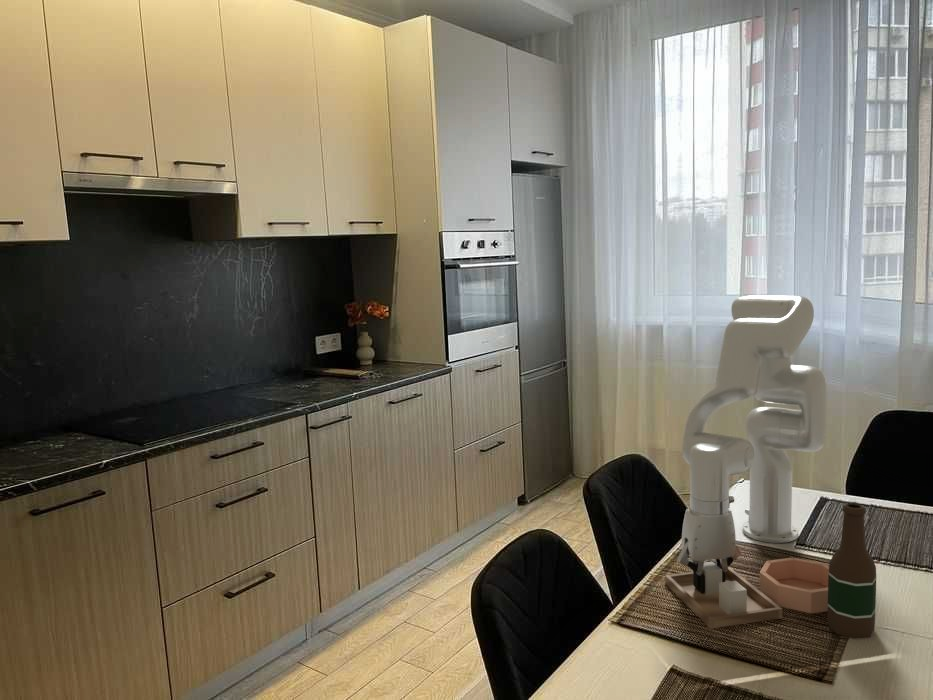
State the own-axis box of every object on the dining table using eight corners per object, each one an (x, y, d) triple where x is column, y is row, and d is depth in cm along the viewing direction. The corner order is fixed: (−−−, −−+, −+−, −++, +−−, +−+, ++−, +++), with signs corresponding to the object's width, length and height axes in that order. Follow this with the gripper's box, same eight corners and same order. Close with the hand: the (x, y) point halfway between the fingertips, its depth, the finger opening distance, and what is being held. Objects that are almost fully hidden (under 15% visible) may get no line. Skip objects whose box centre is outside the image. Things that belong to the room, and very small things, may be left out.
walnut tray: (665, 586, 152) (665, 575, 152) (729, 577, 155) (729, 566, 155) (710, 631, 134) (710, 619, 134) (782, 620, 137) (782, 608, 136)
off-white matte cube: (696, 586, 150) (696, 563, 150) (712, 584, 151) (712, 561, 150) (706, 595, 147) (706, 571, 146) (722, 592, 147) (722, 569, 146)
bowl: (747, 584, 151) (747, 563, 151) (810, 576, 154) (810, 555, 153) (790, 619, 137) (790, 595, 136) (858, 609, 139) (859, 585, 139)
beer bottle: (870, 623, 134) (874, 499, 131) (879, 645, 127) (883, 515, 124) (824, 617, 137) (827, 496, 134) (830, 639, 130) (833, 511, 126)
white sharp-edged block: (719, 606, 142) (719, 582, 141) (735, 604, 142) (735, 580, 142) (729, 616, 138) (729, 592, 137) (746, 614, 138) (746, 589, 138)
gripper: (736, 494, 151) (736, 576, 154) (662, 502, 149) (663, 586, 151) (757, 506, 144) (756, 592, 147) (679, 515, 141) (680, 603, 144)
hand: (709, 588), depth 149 cm, fingers closed on off-white matte cube, 3 cm apart
